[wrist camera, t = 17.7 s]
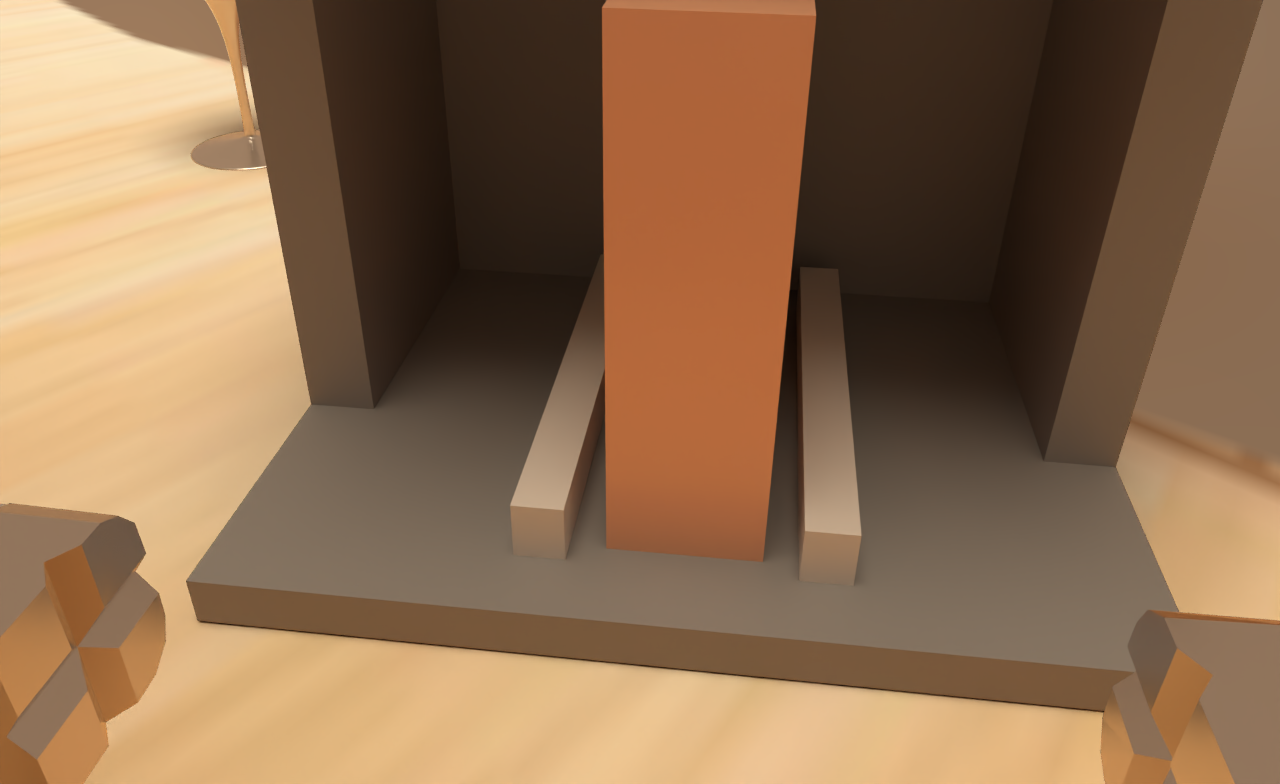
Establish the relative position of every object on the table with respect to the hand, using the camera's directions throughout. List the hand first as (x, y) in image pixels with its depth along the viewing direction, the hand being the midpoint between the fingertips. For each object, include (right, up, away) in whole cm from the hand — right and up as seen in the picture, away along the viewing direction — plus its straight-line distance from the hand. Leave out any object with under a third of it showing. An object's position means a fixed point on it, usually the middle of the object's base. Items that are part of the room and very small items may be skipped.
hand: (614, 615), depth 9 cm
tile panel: (+2, +1, +16) cm, 16 cm away
